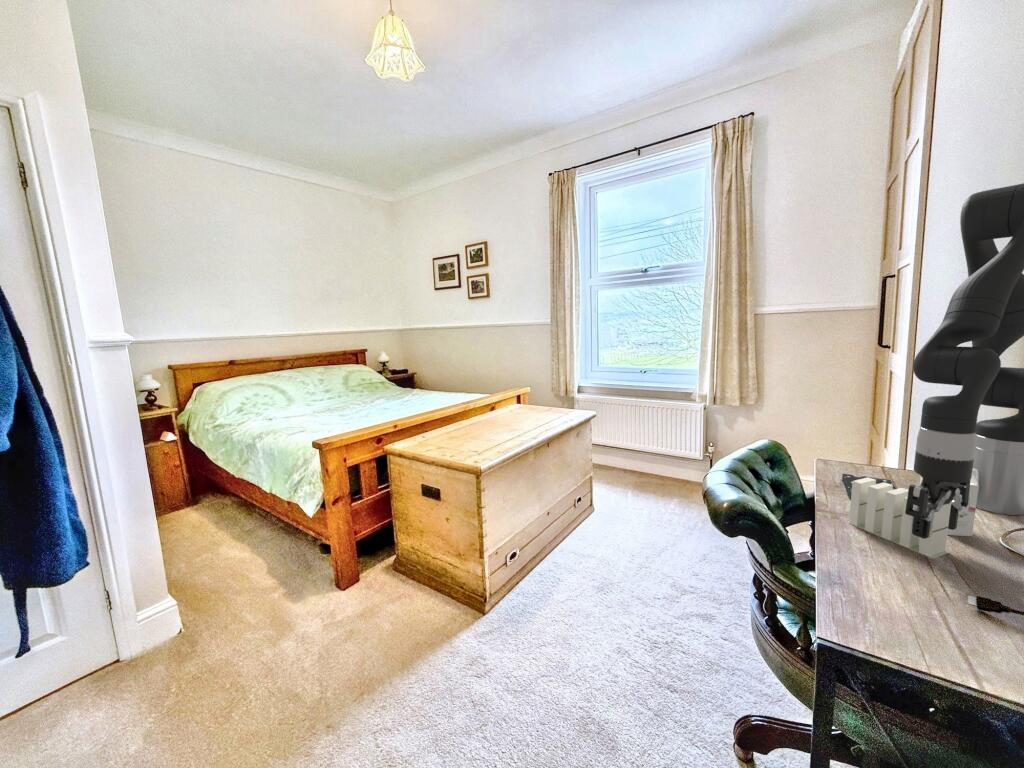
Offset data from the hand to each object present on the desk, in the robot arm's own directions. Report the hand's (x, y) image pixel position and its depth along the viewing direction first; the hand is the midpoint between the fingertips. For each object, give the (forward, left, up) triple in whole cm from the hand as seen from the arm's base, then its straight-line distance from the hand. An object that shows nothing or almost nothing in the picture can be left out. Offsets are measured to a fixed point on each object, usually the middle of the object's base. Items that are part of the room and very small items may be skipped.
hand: (934, 532), depth 78 cm
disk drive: (-19, -22, -5) cm, 29 cm away
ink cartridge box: (-14, -5, -5) cm, 16 cm away
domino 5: (0, 0, -4) cm, 4 cm away
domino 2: (0, -9, -4) cm, 10 cm away
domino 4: (0, -3, -4) cm, 5 cm away
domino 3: (0, -6, -4) cm, 7 cm away
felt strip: (0, -6, -4) cm, 8 cm away
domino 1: (0, -12, -4) cm, 13 cm away
